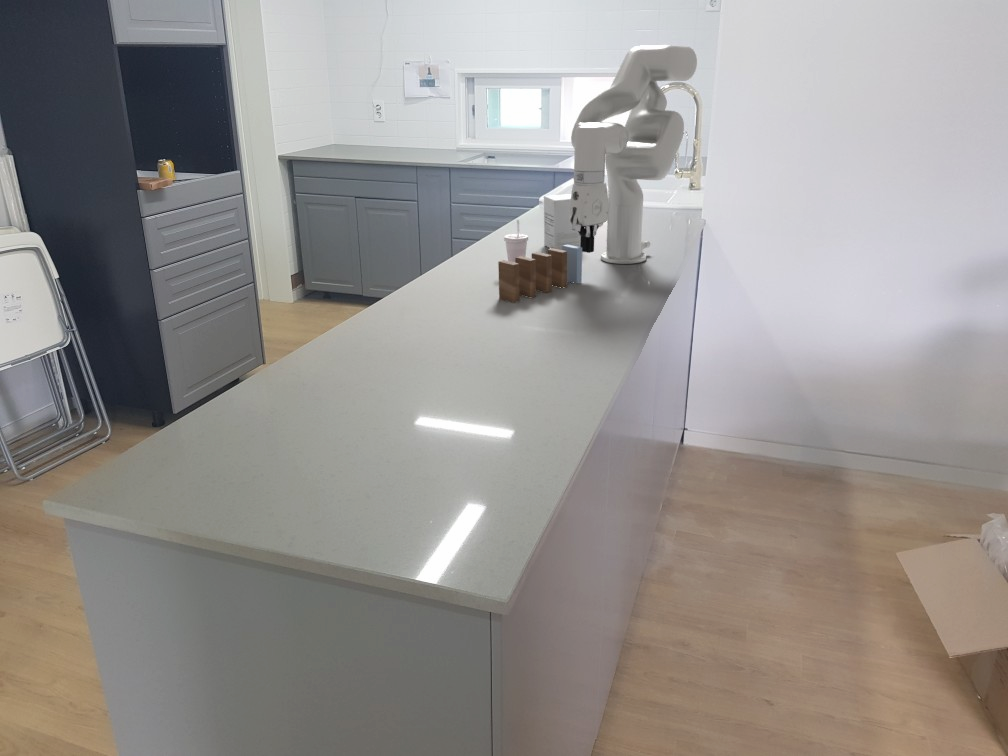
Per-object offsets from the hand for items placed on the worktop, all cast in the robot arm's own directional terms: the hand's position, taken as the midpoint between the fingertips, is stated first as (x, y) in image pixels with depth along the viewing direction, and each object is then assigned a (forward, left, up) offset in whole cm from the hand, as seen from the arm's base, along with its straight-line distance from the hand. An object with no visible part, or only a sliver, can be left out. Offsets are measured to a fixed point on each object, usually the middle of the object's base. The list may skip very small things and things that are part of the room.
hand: (587, 251), depth 199 cm
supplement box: (-21, -28, -7) cm, 36 cm away
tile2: (+11, 0, -7) cm, 13 cm away
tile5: (+28, 0, -7) cm, 28 cm away
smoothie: (+9, -17, -7) cm, 20 cm away
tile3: (+17, 0, -7) cm, 18 cm away
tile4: (+22, 0, -7) cm, 23 cm away
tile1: (+6, 0, -7) cm, 9 cm away
